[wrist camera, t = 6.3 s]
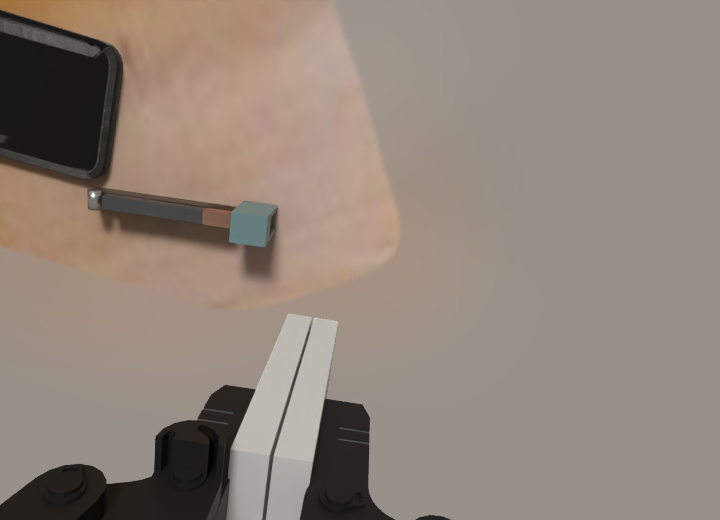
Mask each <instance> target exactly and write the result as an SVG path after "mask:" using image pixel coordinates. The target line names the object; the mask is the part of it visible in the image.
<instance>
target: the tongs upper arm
mask: <svg viewBox="0 0 720 520" xmlns="http://www.w3.org/2000/svg"><path fill="white" fill-rule="evenodd" d="M88 209H89V210H101V209H105V210H111V211H118V212H125V213H132V214H138V215H145V216H152V217H159V218H165V219H172V220H179V221H186V222H192V223H199V224H203V225H209V226H216V227H223V228H230V221H231V211H227V210H221V209H214V208H204V207H197V206H190V205H184V204H177V203H170V202H164V201H157V200H150V199H143V198H137V197H130V196H123V195H116V194H110V193H107V194H104V195H102V207H101V190H99V189H88Z"/></svg>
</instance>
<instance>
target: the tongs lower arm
mask: <svg viewBox="0 0 720 520" xmlns="http://www.w3.org/2000/svg"><path fill="white" fill-rule="evenodd" d="M95 189H99V190H101V205H102V195H104V194H107V193H110V194H116V195H123V196H130V197H137V198H143V199H150V200H157V201H164V202H170V203H177V204H184V205H190V206H197V207H204V208H214V209H221V210H227V211H233V210H234V209H235V208H236V207H232V206H226V205H219V204H212V203H205V202H198V201H191V200H184V199H177V198H170V197H163V196H156V195H149V194H142V193H135V192H128V191H121V190H114V189H107V188H100V187H98V188H95Z"/></svg>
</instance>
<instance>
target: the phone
mask: <svg viewBox="0 0 720 520" xmlns="http://www.w3.org/2000/svg"><path fill="white" fill-rule="evenodd" d="M122 73H123V61H122V58H121V55H120V54H119V52H118V51H117V49H116V48H115V47H113V46H112V45H111V44H109V43H107V42H105V41H101V40H98V39H95V38H91V37H88V36H85V35H82V34H78V33H75V32H72V31H68V30H65V29H62V28H59V27H55V26H52V25H49V24H45V23H42V22H39V21H36V20H32V19H29V18H26V17H22V16H19V15H16V14H13V13H9V12H6V11H3V10H0V156H4V157H7V158H11V159H14V160H18V161H21V162H25V163H28V164H32V165H35V166H39V167H42V168H46V169H49V170H53V171H57V172H60V173H64V174H67V175H71V176H74V177H78V178H81V179H92V178H96V177H99V176H101V175H103V174H104V173H105V172H106V171H107V170H108V168H109V165H110V159H111V152H112V145H113V138H114V131H115V123H116V116H117V109H118V102H119V94H120V87H121V80H122ZM113 113H114V114H113ZM112 119H113V121H112ZM111 126H112V128H111ZM109 153H110V154H109Z"/></svg>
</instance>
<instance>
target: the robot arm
mask: <svg viewBox="0 0 720 520" xmlns="http://www.w3.org/2000/svg"><path fill="white" fill-rule="evenodd" d="M311 321H312V317H307V316H300V315H294V314H288V316H287V319H286V320H285V323H284V325H283V327H282V330H281V332H280V334H279V337H278V339H277V342H276V344H275V346H274V349H273V351H272V353H271V356H270V358H269V360H268V363H267V365H266V368H265V370H264V372H263V374H262V377H261V379H260V381H259V384H258V386H257V388H256V390H255V389H249V388H242V387H236V386H229V385H225V386H223V387H222V388H220V389H219V390H217V391H216V392H214V393H213V394H212V395H211V396H210V398H209V399H208V401H207V403H206V405H205V406H204V409H203V410H202V411H201V413H200V415H199V417H198V420H196V421H195V420H187V421H182V422H178V423H174V424H172V425H170V426H168V427H166V428H164V429H163V430H162V431H161V432H160V433H159V434H158V435H156V439H155V465H154V466H155V467H154V473H153V475H152V477H149V478H146V479H143V480H138V481H132V482H124V483H114V484H106V479H105V477H104V475H103V472H101V471H100V470H98V469H97V468H95V467H93V466H89V465H83V464H74V465H64V466H61V467H58V468H55V469H51V470H49V471H47V472H45V473H44V474H42V475H40V476H38V477H37V478H35V479H34V480H32V481H31V482H30V483H29V484H27V485H26V486H25V487H23V488H22V489H21V490H19V491H18V492H17V493H15V494H14V495H13V496H11V497H10V498H9V499H7V500H6V501H5V502H4V503H2V504H1V505H0V520H395V519H393V518H391V517H389V516H387V515H386V514H385V513H383V512H382V511H381V510H380V509H379V508H378V507H377V506H376V505H375V504H374V502H373V501H372V499H371V497H370V495H369V489H368V469H369V430H370V417H369V415H368V413H367V412H366V410H365V409H364V407H363V405H362V404H356V403H349V402H343V401H336V400H330V399H326V397H327V391H328V385H329V378H330V372H331V365H332V358H333V352H334V346H335V339H336V333H337V326H338V321H332V320H326V319H319V318H314V321H313V325H312V328H311ZM310 329H311V331H310ZM416 520H450V519H448V518H445V517H442V516H434V515H428V516H424V517H419V518H418V519H416Z"/></svg>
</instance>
